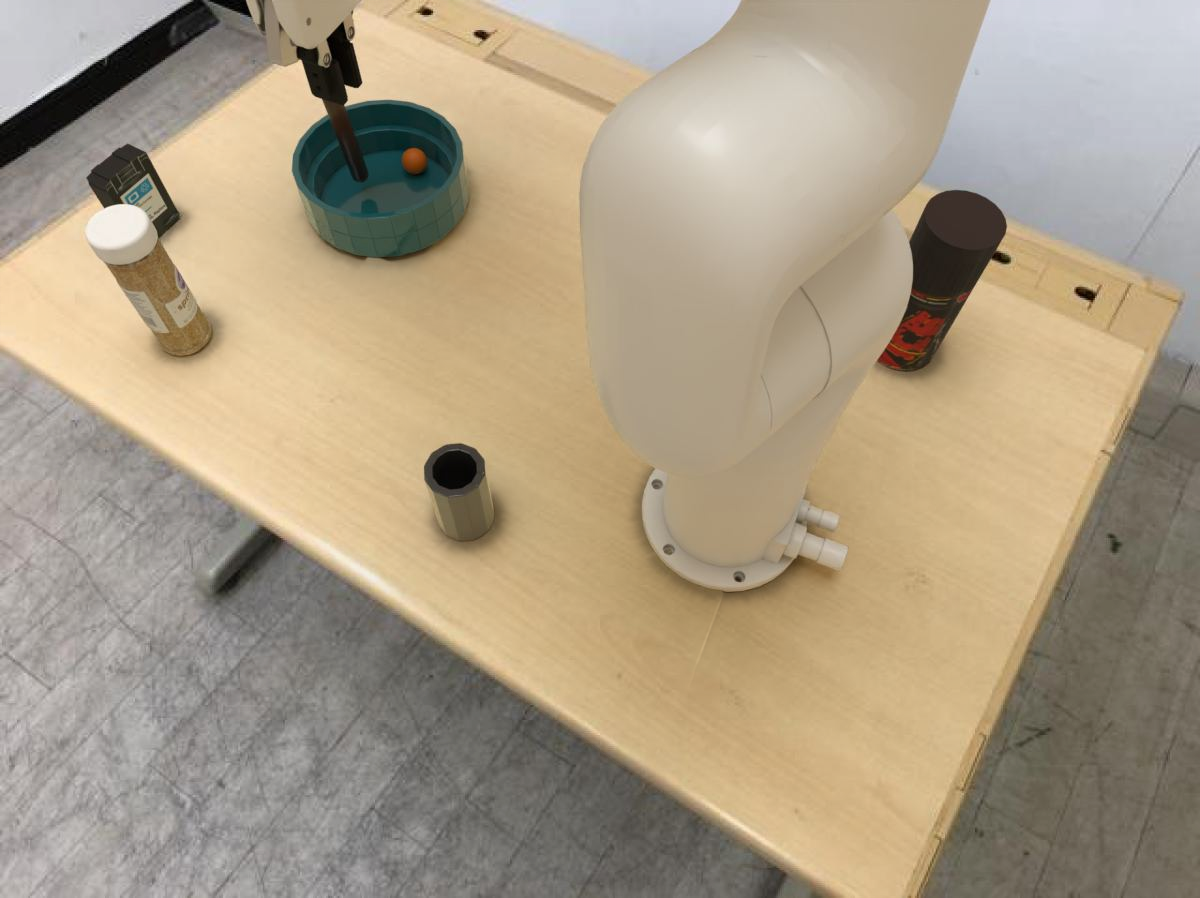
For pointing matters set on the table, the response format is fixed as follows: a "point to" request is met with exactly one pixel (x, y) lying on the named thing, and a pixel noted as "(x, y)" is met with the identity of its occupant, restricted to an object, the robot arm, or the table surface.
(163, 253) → the sprinkles bottle
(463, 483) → the holder
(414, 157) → the ball
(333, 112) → the stick
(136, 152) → the ink cartridge
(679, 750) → the table surface
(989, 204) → the deodorant
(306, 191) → the bowl
